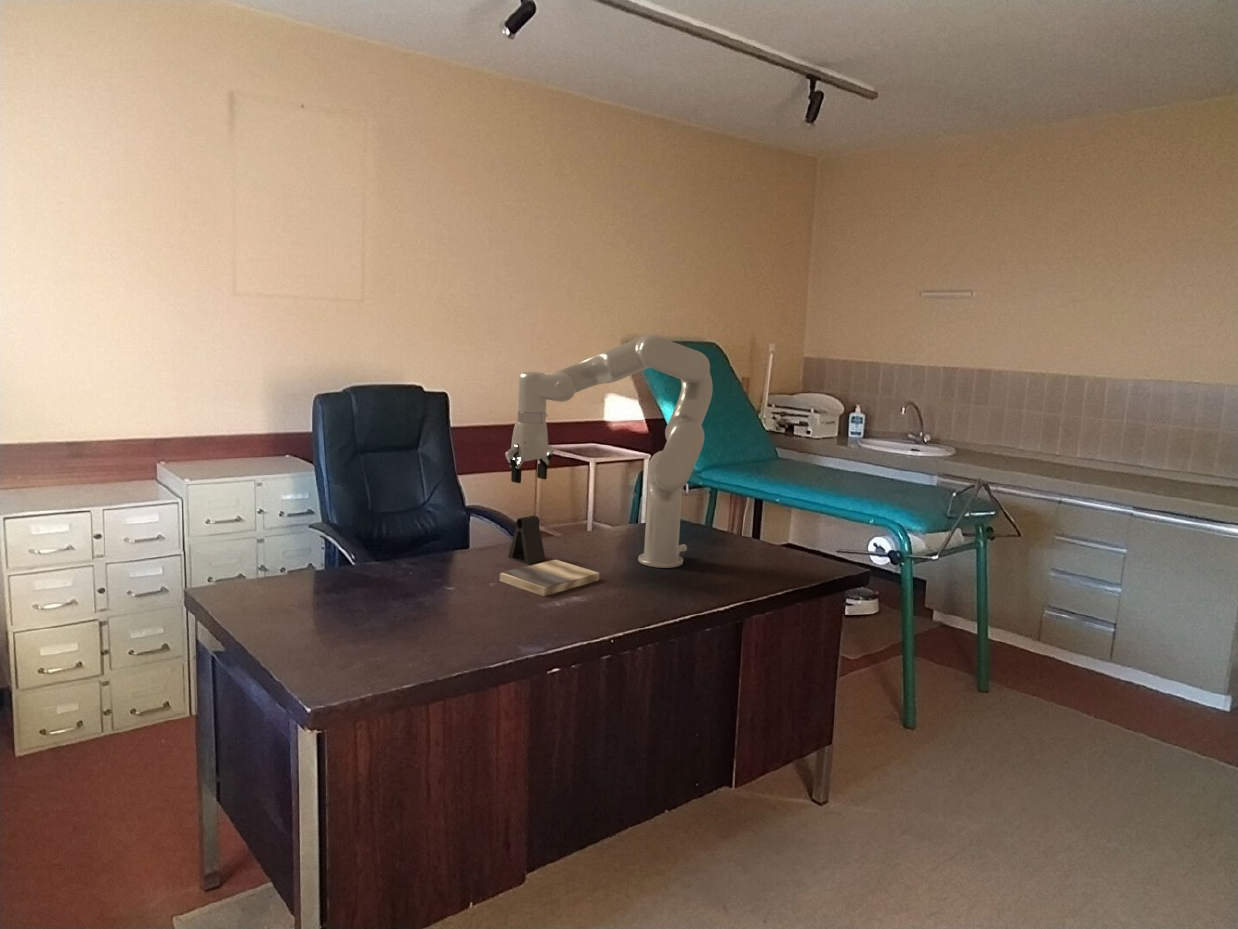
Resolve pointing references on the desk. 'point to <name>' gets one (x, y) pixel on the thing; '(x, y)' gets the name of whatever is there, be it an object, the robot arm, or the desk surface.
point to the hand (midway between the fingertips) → (529, 480)
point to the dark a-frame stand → (527, 541)
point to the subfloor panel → (549, 577)
